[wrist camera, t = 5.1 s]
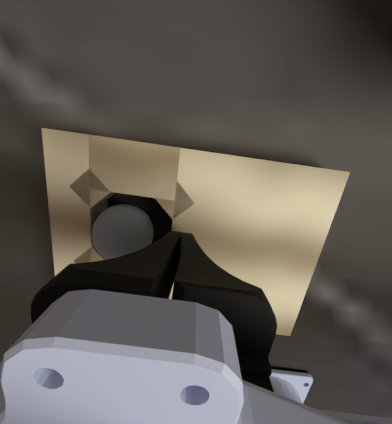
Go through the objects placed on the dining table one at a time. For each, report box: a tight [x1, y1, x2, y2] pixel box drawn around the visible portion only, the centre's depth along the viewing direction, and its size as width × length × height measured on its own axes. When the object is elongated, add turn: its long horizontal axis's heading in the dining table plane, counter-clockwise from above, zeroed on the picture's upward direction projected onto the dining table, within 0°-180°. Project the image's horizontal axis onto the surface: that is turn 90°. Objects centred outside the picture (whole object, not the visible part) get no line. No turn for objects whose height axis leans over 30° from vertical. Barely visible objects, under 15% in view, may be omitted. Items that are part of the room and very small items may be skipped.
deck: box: [42, 128, 350, 336], centre depth 14 cm, size 12×17×2 cm
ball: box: [92, 204, 154, 259], centre depth 12 cm, size 4×4×4 cm
